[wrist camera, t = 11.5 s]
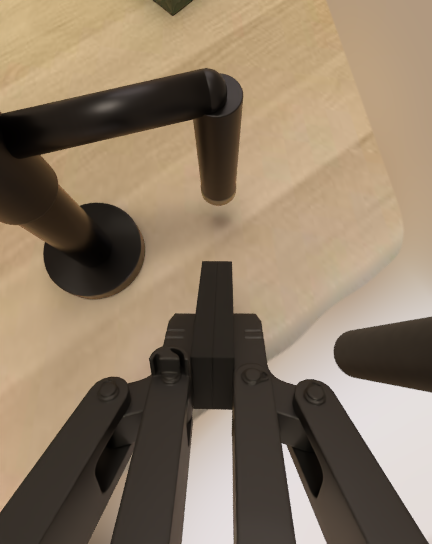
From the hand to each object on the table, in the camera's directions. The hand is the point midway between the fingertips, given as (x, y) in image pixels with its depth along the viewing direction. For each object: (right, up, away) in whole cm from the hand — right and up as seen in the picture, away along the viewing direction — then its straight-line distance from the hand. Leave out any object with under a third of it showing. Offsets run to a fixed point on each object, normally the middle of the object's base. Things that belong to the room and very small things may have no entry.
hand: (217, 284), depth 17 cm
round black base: (-11, +3, +14) cm, 18 cm away
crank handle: (-6, +5, +8) cm, 11 cm away
